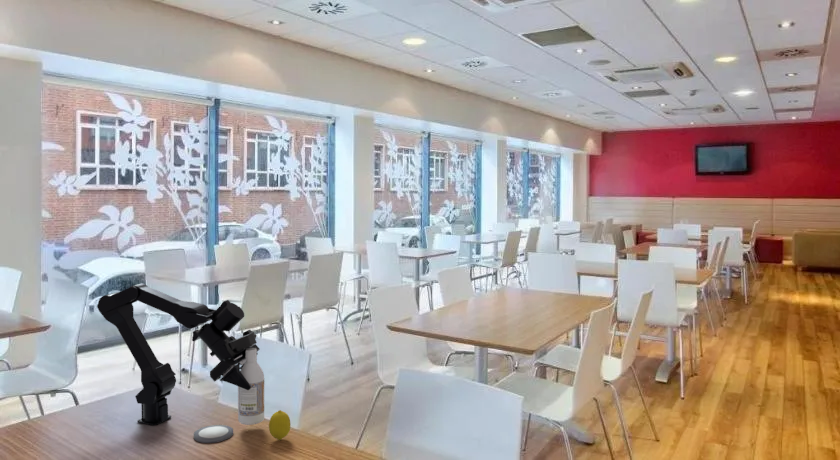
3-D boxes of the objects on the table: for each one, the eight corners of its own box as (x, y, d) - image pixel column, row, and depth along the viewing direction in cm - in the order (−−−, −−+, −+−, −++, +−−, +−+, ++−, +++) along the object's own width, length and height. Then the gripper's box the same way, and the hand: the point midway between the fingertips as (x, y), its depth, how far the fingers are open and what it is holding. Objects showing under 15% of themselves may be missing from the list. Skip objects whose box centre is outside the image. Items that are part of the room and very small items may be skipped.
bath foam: (266, 423, 164) (266, 350, 162) (240, 427, 161) (240, 353, 159) (261, 414, 170) (261, 344, 168) (236, 417, 167) (235, 347, 165)
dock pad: (185, 439, 158) (185, 436, 158) (210, 425, 168) (210, 422, 168) (216, 445, 155) (216, 442, 155) (240, 431, 164) (240, 427, 164)
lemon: (285, 445, 156) (285, 415, 155) (265, 443, 157) (265, 413, 156) (293, 436, 161) (293, 407, 160) (274, 434, 162) (274, 405, 161)
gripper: (220, 330, 155) (260, 376, 154) (253, 315, 173) (289, 356, 172) (192, 358, 157) (232, 403, 156) (227, 340, 175) (263, 381, 174)
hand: (255, 384), depth 164 cm, fingers closed on bath foam, 7 cm apart
